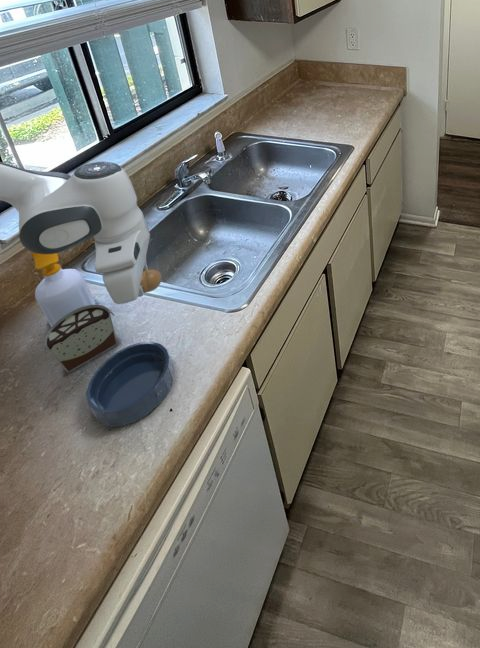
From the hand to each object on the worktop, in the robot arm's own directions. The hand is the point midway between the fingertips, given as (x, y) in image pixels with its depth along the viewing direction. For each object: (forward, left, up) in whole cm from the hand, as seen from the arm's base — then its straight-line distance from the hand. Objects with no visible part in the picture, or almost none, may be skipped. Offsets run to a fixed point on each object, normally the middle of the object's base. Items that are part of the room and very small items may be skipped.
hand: (141, 283), depth 94 cm
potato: (0, 0, -2) cm, 2 cm away
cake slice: (-14, +1, -15) cm, 21 cm away
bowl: (-3, -13, -15) cm, 20 cm away
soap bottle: (-20, +13, -15) cm, 28 cm away
